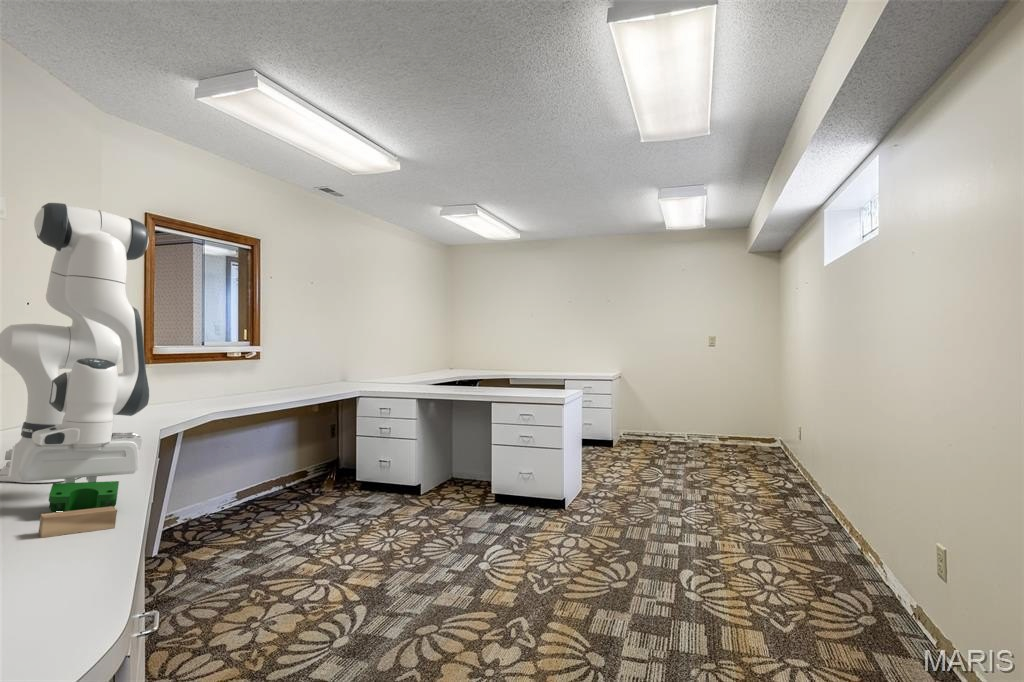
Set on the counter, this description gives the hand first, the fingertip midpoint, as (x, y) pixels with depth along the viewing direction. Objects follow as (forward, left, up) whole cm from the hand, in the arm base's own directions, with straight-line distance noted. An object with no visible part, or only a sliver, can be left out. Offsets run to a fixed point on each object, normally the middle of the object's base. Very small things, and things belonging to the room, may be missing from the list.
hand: (78, 497), depth 115 cm
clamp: (+5, 0, -2) cm, 5 cm away
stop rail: (+17, -3, -2) cm, 17 cm away
